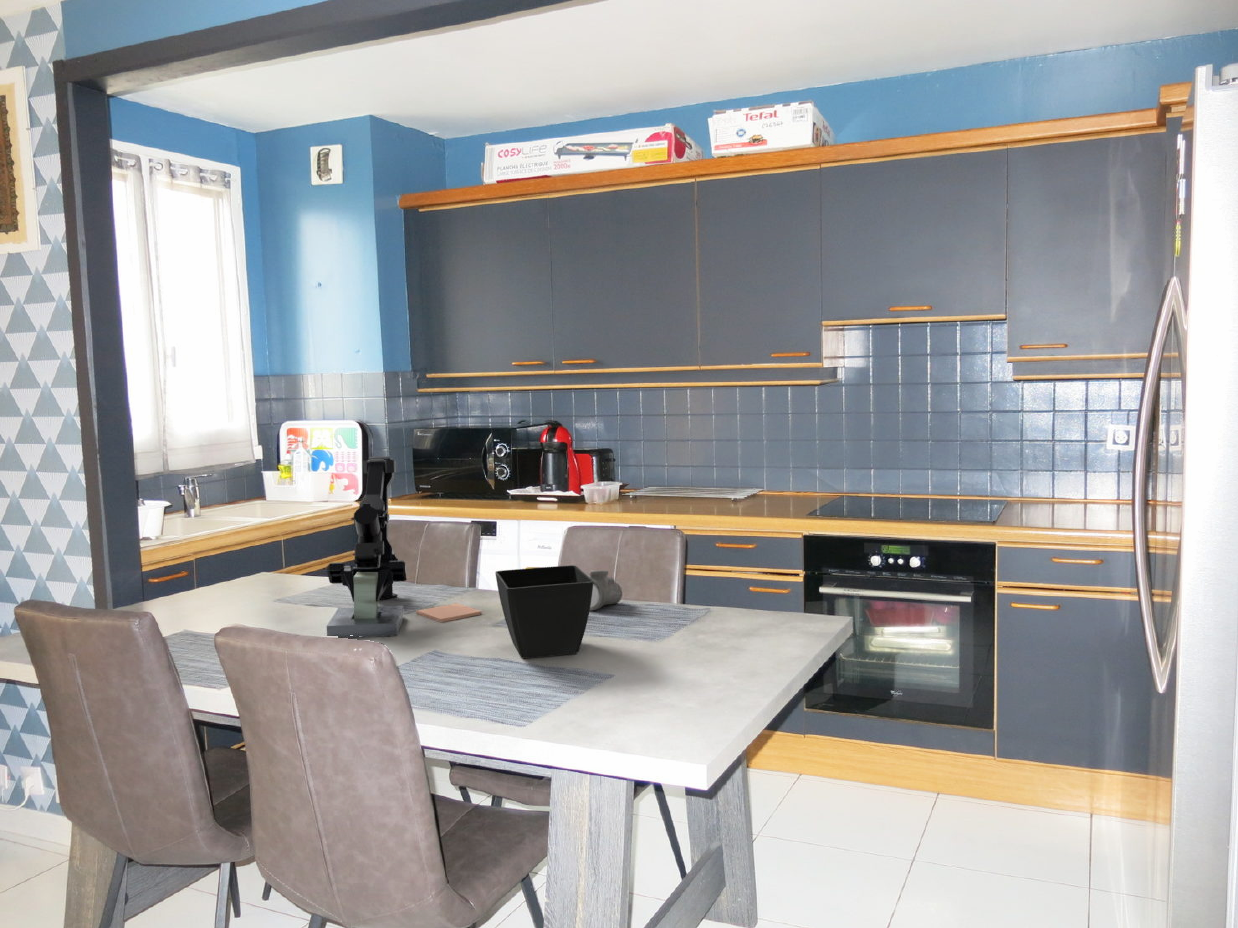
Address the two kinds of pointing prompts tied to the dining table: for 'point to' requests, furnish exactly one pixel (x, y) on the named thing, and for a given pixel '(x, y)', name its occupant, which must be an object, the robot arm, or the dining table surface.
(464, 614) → the terracotta pad
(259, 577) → the dining table surface
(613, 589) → the pipe fitting
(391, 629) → the socket plate
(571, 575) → the flower pot
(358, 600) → the square plug
